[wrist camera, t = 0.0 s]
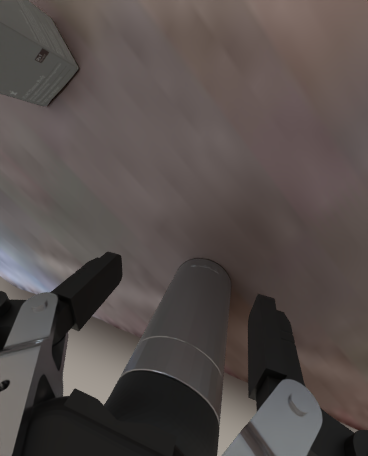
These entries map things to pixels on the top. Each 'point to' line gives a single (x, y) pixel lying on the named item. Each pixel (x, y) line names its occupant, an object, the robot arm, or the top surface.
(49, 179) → the top surface
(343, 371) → the top surface
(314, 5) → the top surface
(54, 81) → the skincare box
